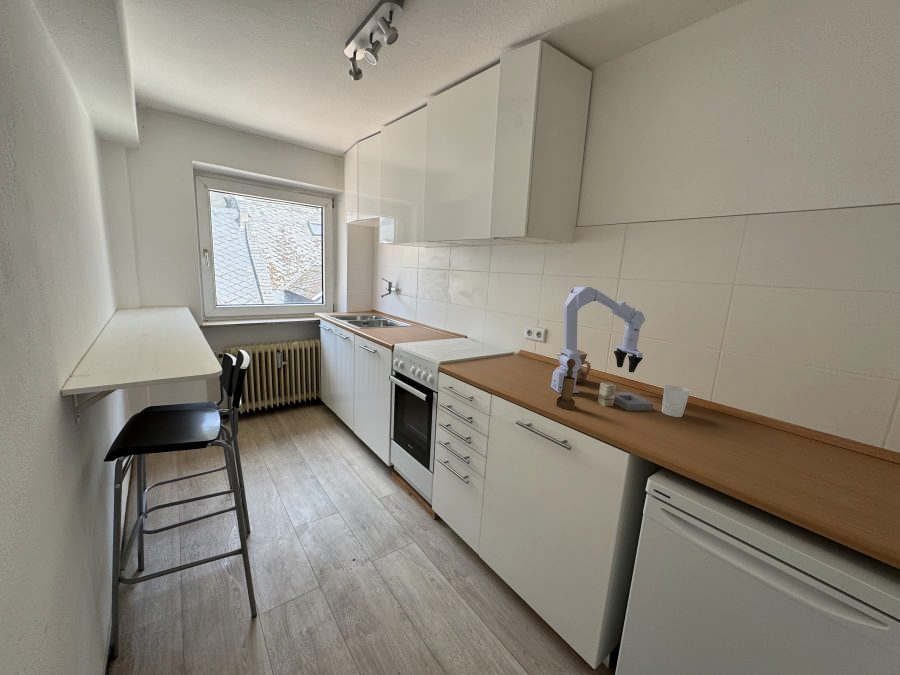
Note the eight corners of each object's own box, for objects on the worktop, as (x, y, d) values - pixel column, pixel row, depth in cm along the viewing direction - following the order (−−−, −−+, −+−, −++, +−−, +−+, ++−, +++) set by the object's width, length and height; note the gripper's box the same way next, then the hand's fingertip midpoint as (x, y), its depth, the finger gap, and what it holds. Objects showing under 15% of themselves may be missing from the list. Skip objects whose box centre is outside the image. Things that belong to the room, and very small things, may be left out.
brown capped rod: (575, 410, 130) (582, 362, 127) (557, 408, 131) (563, 360, 128) (573, 404, 136) (579, 358, 133) (555, 401, 137) (561, 356, 134)
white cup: (660, 414, 132) (665, 388, 130) (659, 408, 139) (663, 383, 137) (685, 419, 128) (690, 393, 126) (683, 413, 135) (688, 387, 133)
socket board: (626, 410, 134) (627, 404, 133) (605, 397, 146) (606, 392, 146) (652, 410, 136) (653, 403, 135) (629, 397, 148) (630, 392, 148)
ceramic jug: (545, 376, 172) (548, 347, 169) (565, 373, 180) (568, 345, 177) (576, 388, 157) (581, 357, 154) (596, 384, 165) (601, 354, 162)
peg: (603, 406, 137) (606, 386, 135) (597, 402, 141) (600, 382, 139) (613, 406, 137) (616, 386, 136) (606, 402, 141) (609, 382, 140)
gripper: (651, 342, 145) (645, 374, 148) (627, 335, 159) (622, 365, 162) (636, 341, 144) (630, 374, 147) (613, 335, 158) (608, 365, 160)
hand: (625, 369), depth 154 cm, fingers open, 7 cm apart
